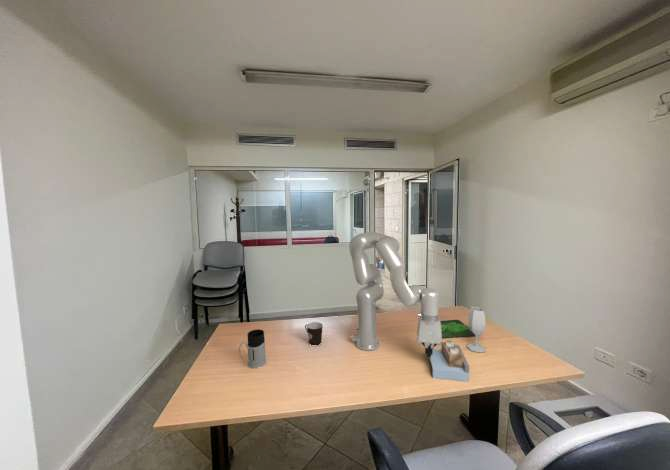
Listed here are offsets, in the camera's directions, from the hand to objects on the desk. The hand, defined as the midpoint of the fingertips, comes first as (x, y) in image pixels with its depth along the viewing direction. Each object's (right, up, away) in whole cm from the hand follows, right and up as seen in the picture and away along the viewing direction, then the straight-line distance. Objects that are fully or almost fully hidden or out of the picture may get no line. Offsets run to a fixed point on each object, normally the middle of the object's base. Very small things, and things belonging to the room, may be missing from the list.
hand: (428, 355), depth 120 cm
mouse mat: (+24, -2, +37) cm, 45 cm away
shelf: (+8, -5, -1) cm, 9 cm away
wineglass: (+30, -4, +15) cm, 33 cm away
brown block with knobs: (+10, -1, -2) cm, 10 cm away
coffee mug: (-54, -4, +25) cm, 60 cm away
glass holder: (-81, -7, +4) cm, 82 cm away
